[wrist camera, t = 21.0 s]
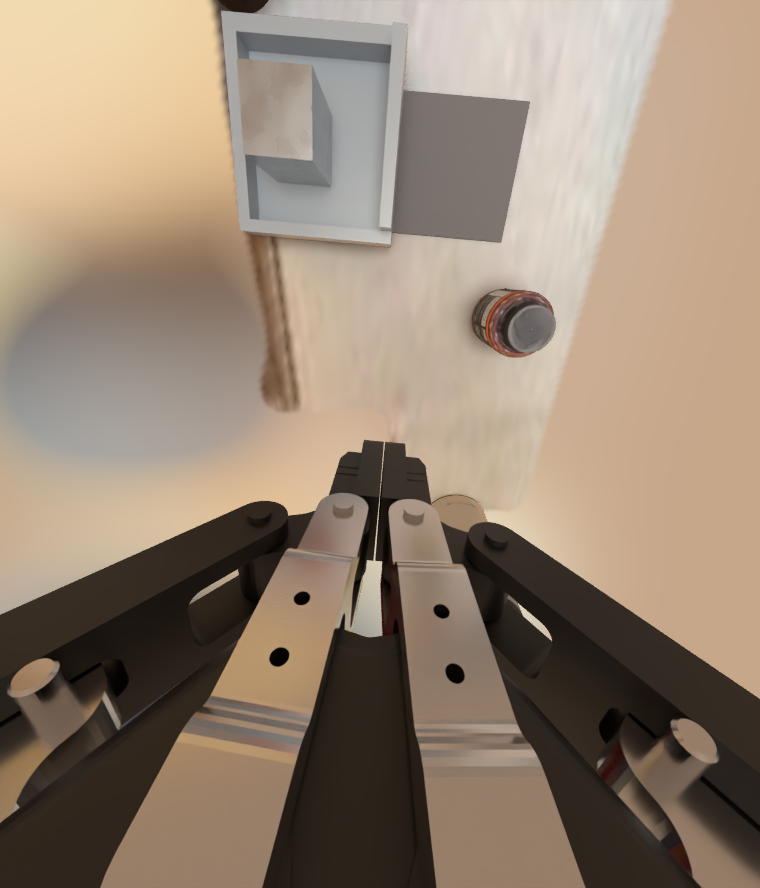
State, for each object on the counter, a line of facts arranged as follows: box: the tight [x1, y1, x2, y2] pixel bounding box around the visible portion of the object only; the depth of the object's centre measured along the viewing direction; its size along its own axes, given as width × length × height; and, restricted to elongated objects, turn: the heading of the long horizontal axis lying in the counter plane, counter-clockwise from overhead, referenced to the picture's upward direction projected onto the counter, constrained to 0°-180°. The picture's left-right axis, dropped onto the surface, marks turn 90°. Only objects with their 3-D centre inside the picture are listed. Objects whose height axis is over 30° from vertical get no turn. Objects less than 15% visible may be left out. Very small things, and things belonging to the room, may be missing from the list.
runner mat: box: [392, 91, 530, 242], centre depth 33 cm, size 11×26×1 cm, turn 85°
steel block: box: [237, 58, 332, 187], centre depth 27 cm, size 5×5×8 cm
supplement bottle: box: [472, 288, 556, 358], centre depth 34 cm, size 6×6×11 cm
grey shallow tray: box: [221, 11, 408, 247], centre depth 29 cm, size 14×14×8 cm
